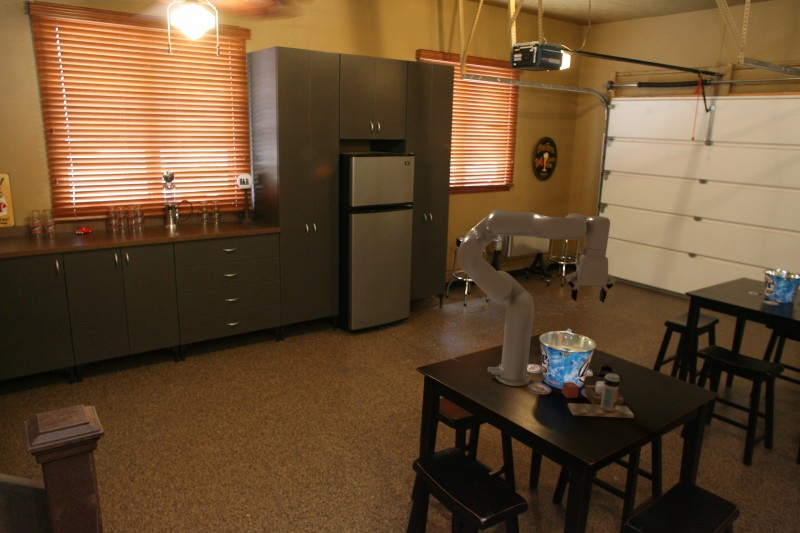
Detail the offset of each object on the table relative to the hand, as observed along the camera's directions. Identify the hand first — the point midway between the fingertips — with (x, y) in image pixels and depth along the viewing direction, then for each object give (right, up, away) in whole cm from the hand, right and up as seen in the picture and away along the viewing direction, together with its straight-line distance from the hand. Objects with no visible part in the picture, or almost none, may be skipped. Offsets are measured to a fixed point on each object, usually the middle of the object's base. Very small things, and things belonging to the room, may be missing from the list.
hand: (587, 300), depth 204 cm
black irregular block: (+13, -31, +21) cm, 40 cm away
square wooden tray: (+5, -35, 0) cm, 35 cm away
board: (+1, -37, -9) cm, 38 cm away
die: (-6, -33, +2) cm, 34 cm away
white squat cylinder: (+5, -34, 0) cm, 34 cm away
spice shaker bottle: (+4, -36, -9) cm, 37 cm away
